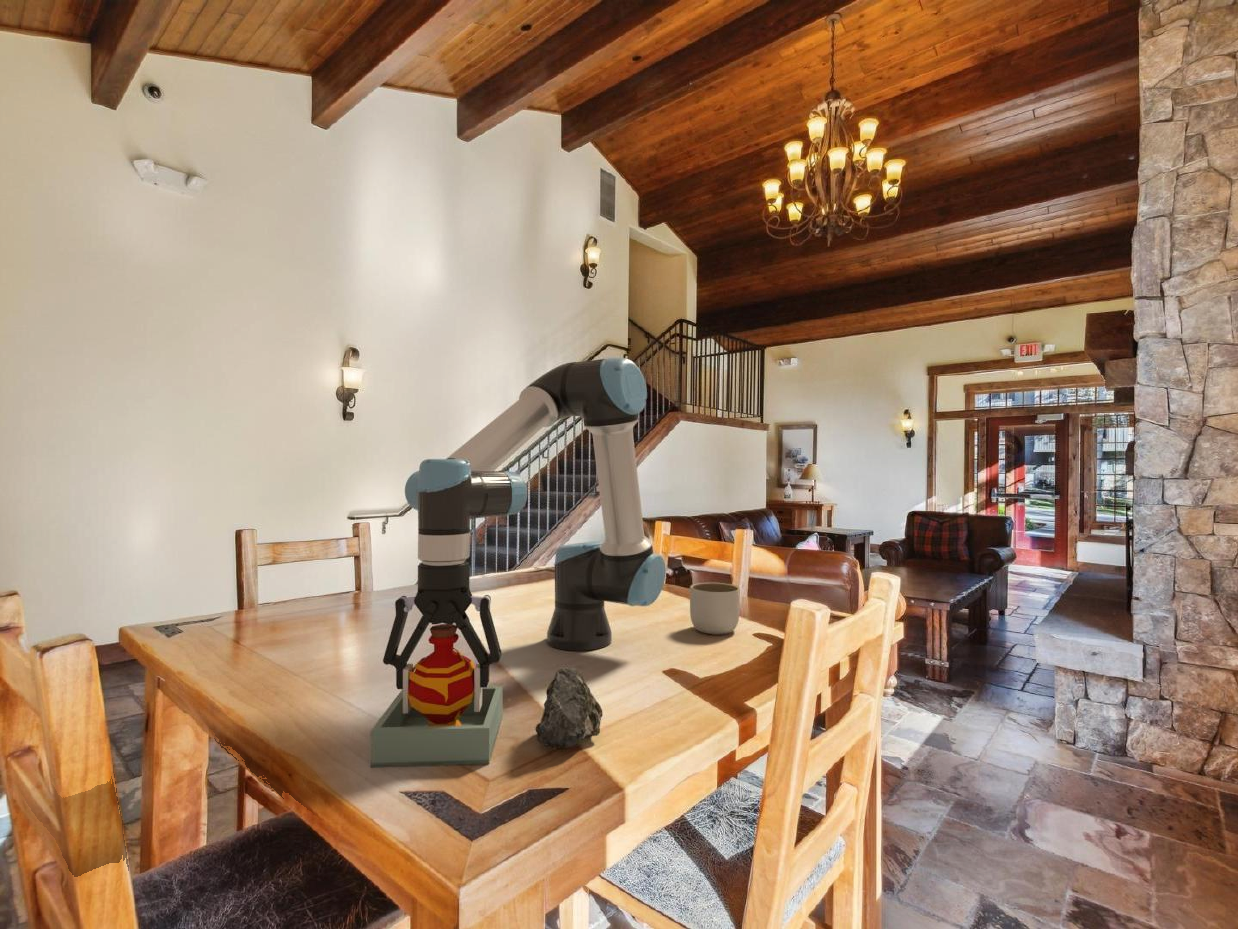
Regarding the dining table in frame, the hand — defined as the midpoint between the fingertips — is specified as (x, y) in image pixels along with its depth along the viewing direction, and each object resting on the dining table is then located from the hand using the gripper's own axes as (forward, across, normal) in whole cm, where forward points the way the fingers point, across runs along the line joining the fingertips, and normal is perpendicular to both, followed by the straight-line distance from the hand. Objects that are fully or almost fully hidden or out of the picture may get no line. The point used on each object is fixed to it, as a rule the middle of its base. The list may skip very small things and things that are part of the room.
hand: (443, 709), depth 92 cm
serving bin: (+5, 0, 0) cm, 5 cm away
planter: (+5, -55, -58) cm, 80 cm away
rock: (+5, -19, +2) cm, 20 cm away
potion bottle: (+3, 0, 0) cm, 3 cm away
